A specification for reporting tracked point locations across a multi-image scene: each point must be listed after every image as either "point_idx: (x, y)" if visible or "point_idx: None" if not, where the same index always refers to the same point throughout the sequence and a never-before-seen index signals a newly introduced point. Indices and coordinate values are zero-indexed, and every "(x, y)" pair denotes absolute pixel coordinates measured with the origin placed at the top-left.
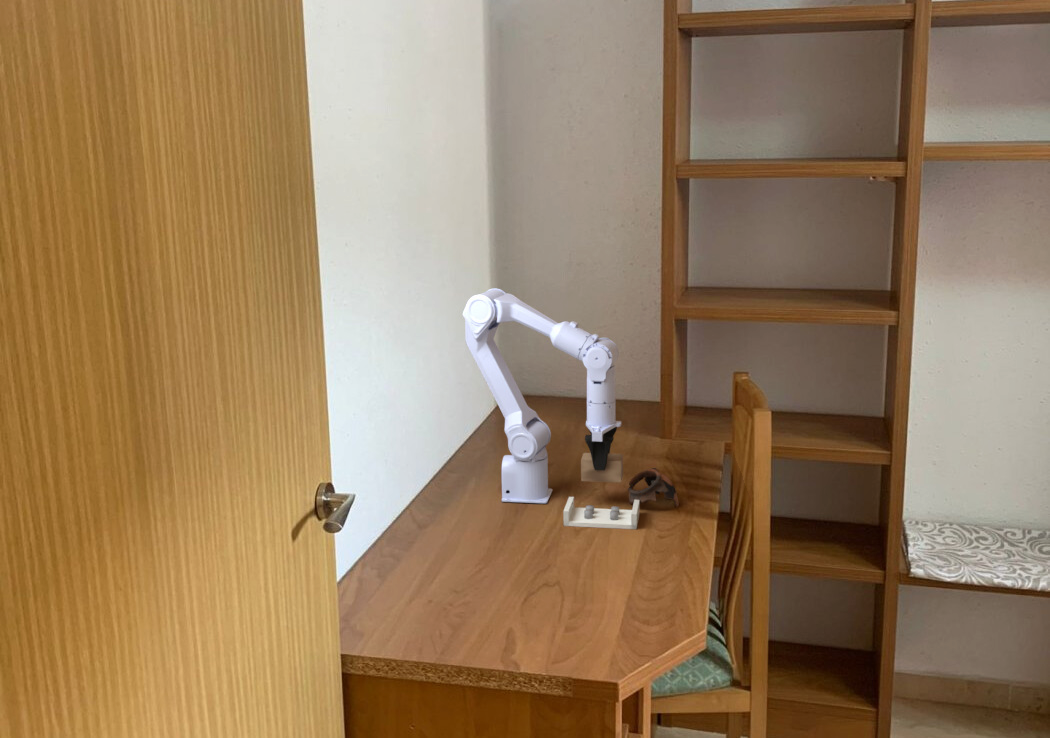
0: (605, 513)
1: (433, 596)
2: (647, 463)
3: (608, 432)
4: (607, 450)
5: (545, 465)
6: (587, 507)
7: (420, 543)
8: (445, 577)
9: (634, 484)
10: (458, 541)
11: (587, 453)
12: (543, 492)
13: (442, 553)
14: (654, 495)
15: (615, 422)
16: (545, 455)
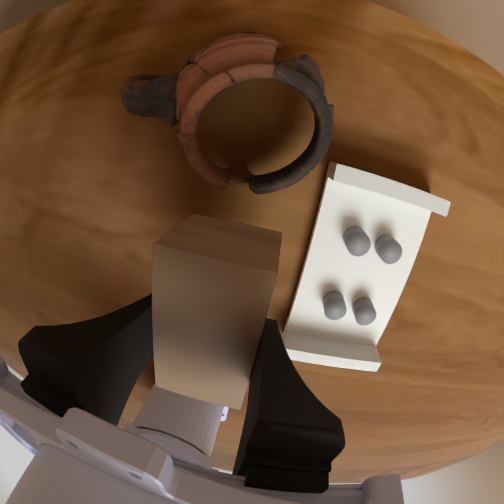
0: (342, 262)
1: (481, 430)
2: (10, 136)
3: (92, 383)
4: (305, 389)
5: (186, 424)
6: (341, 316)
7: (362, 467)
8: (456, 435)
9: (217, 166)
10: (373, 448)
11: (162, 379)
12: None
13: (400, 451)
14: (331, 108)
15: (119, 477)
16: (172, 442)
